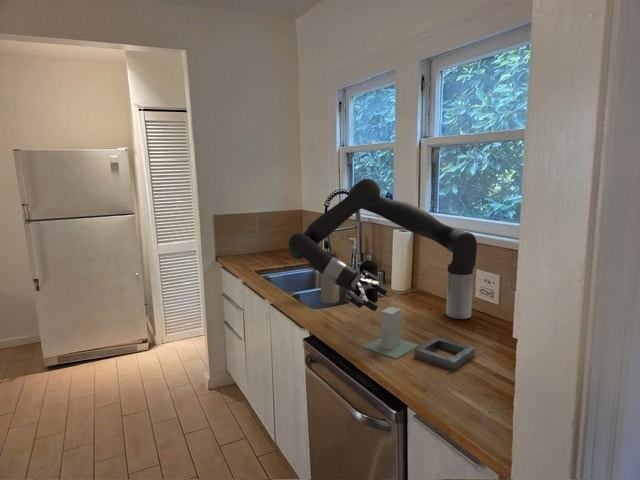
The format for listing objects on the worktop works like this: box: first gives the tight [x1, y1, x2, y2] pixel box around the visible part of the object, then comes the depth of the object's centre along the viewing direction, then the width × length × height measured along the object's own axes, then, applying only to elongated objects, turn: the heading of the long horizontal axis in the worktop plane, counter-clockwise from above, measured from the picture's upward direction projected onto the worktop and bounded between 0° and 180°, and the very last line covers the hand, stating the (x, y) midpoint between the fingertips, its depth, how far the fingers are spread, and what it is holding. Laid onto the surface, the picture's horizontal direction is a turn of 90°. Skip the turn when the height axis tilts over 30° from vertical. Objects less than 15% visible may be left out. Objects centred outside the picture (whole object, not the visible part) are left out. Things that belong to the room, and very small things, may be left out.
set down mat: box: [362, 336, 421, 360], centre depth 133 cm, size 13×13×1 cm
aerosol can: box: [358, 255, 379, 304], centre depth 180 cm, size 8×8×20 cm
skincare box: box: [380, 306, 402, 350], centre depth 132 cm, size 6×4×12 cm
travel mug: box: [320, 273, 340, 305], centre depth 180 cm, size 8×8×18 cm
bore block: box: [413, 336, 476, 372], centre depth 125 cm, size 13×13×2 cm
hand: (381, 300), depth 134 cm, fingers open, 8 cm apart
